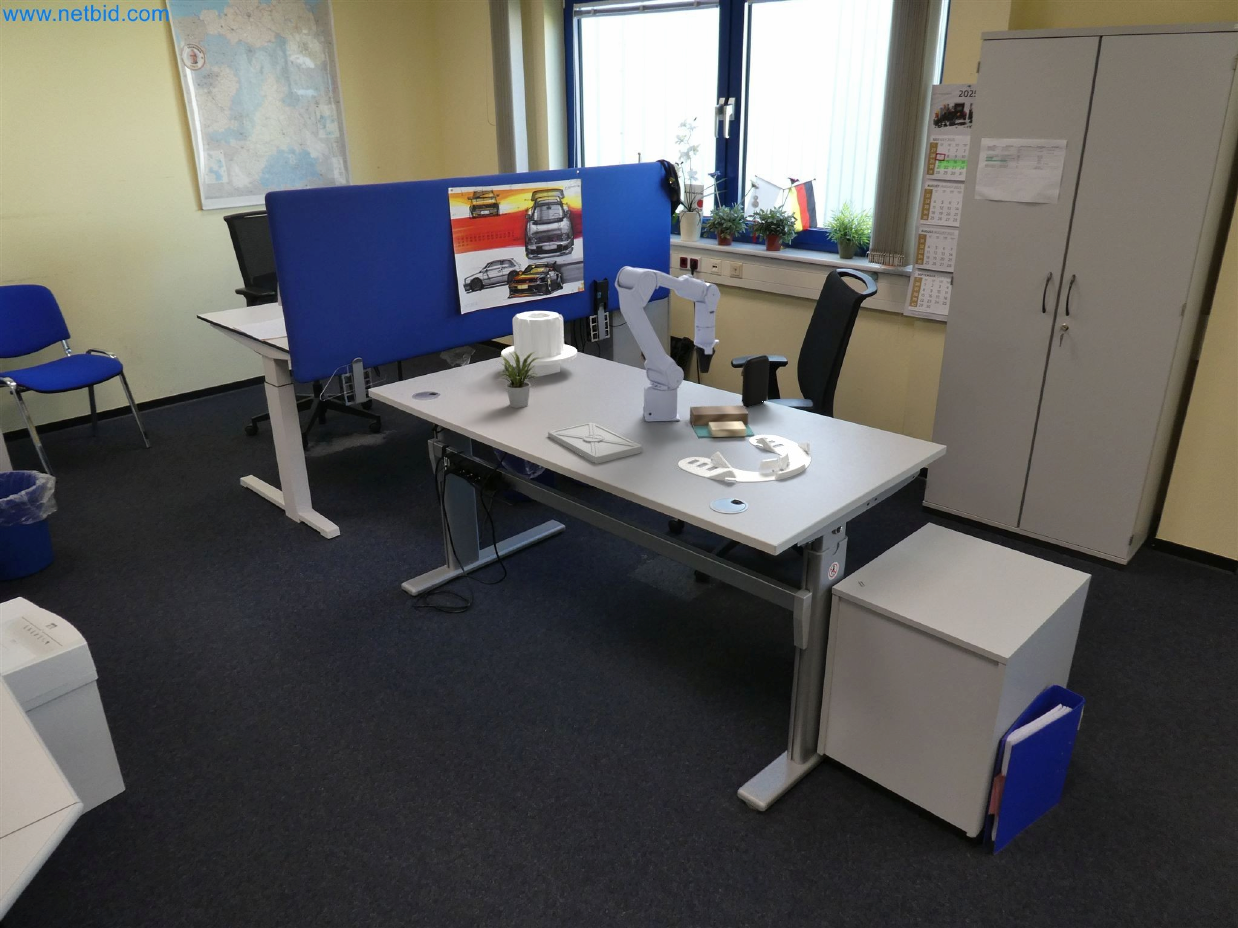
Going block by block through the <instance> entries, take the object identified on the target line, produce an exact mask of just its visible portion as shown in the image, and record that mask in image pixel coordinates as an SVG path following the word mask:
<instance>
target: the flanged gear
mask: <svg viewBox="0 0 1238 928" xmlns="http://www.w3.org/2000/svg"><path fill="white" fill-rule="evenodd" d="M512 334H513V335H512V336H513V345H511V346H508V347H505V349H504V348H503V350H502V351H501V356H503V357H504V358H506V359H507V360H508V361H509V362H510V364H515V365H516V363H515V360H514V358H513V356H514V357H515V354H514V352H516V353H517V355H518V356H519V359H520V368H522V363H523V360H524V359H525V358H526V357H527V356H528V355H529V354H530V353H532V352H535V353H533V354H532V355H531V356H530V357H529V359H528V360H529V361H528V360H527V361H528V362H527V364H528V363H530V361H531V360H532V359H534V358H540V359H536V360H534V361H533V362H532V363H531V364H530V366H529V368H531V367H533V366H535V367H533V368H532V369H531V370H530V371H529V373H528V374H527V375H529V374H532V373H536V374H537V375H531V377H534V378H539V377H542V376H543V377H544V376H548V375H552V374H557V373H560V372H561V363H565V362H569V361H572V360H574V359H575V358H577V356H578V349H576V347H574V346H571V345H568V344H565V338H564V337H565V336H564V335H565V334H564V317H563V315H562V314H559V313H558V312H554V311H548V310H547V311H546V310H533V311H524V312H521V313H516V314H515V315H514V316H513V318H512ZM508 351H509V352H510V353H511V354H512V355H513V356H512V355H511V354H510V353H509V352H508ZM501 356H500V357H501ZM501 359H502V360H503V361H504V359H503V358H502V357H501ZM515 359H516V357H515ZM527 364H526V365H527ZM529 368H528V369H529ZM526 369H527V367H526ZM526 369H525V370H526Z"/></svg>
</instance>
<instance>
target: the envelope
mask: <svg viewBox="0 0 1238 928" xmlns="http://www.w3.org/2000/svg"><path fill="white" fill-rule="evenodd" d="M547 437H549V438H551V439H553V441H555V442H557V443H559V444H561V445H563V446H564V447H566V448H568V449H570V451H571V450H572V451H573V452H575V451H576V452H577V453H576V452H575V453H576V454H578V453H579V454H578V455H580V454H581V455H580V456H582V457H583V456H584V457H583V458H585V457H586V458H585V459H587V460H589V461H590V462H592V463H594V462H595V463H594V464H601V463H604V462H608V461H613V460H617V459H621V458H624V457H629V456H633V455H636V454H641V453H643V446H642V445H641V444H639V443H637V442H636V441H633V440H630V439H628V438H627V437H624V436H622V435H621V434H617V433H616V432H613V431H612V430H610V429H608V428H605V427H603V426H601V425H599V424H598V423H594V422H587V423H582V424H577V425H573V426H568V427H564V428H559V429H554V430H549V431H547Z"/></svg>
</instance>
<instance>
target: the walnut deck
mask: <svg viewBox="0 0 1238 928" xmlns="http://www.w3.org/2000/svg"><path fill="white" fill-rule="evenodd" d="M689 420H690V422H691V425H692V427H693V428H694V426H709V422H738V421H742V422H743V424H744V425H749V412H748V410H747V409H746V407H744V406H743V404H742V405H713V406H712V405H708V406H707V405H706V406H689Z"/></svg>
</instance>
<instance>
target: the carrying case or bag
mask: <svg viewBox="0 0 1238 928" xmlns="http://www.w3.org/2000/svg"><path fill="white" fill-rule="evenodd" d="M741 369H742V370H741V374H740V376H741V377H742V387H741V388H742V389H741V403H742V405H743V406H744V407H745V409H746V408H747V409H748V408H752V407H755V406H760V405H763V404H764V403H765V402H766V401H767V400H768V395H769V394H768V391H769V379H770V378H769V377H770V359H769V357H768V356H767V355H766V354H762V355H761V354H760V355H757V356H753V357H749V358H747V359H746V360H745V361H744V363H743V365H742V368H741ZM762 401H763V402H762ZM764 401H765V402H764Z"/></svg>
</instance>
